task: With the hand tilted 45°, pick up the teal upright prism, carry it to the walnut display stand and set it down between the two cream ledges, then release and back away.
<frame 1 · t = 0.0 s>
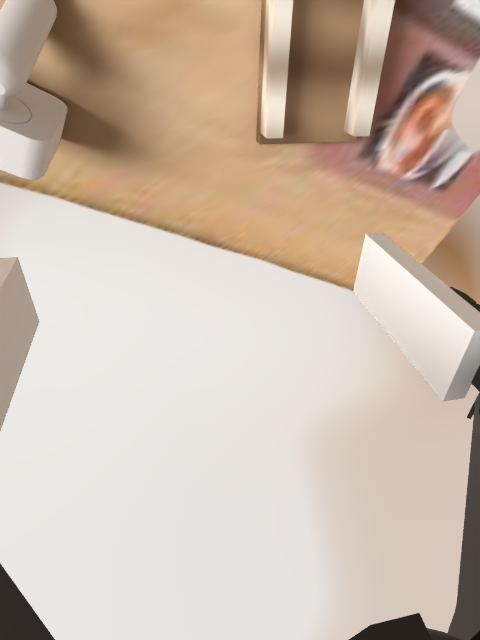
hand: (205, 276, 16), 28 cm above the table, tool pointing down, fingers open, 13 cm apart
wall hook: (24, 68, 33), on the table
display stand: (312, 57, 37), on the table
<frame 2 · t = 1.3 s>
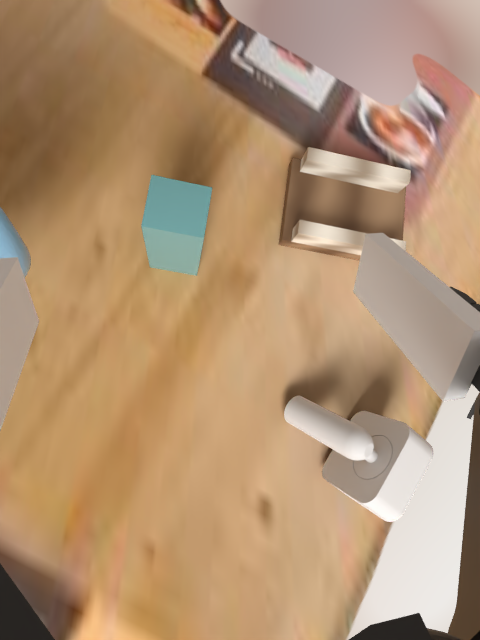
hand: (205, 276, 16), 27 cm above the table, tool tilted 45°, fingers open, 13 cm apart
wall hook: (328, 435, 43), on the table
display stand: (341, 216, 47), on the table
teal upright prism: (177, 251, 43), on the table
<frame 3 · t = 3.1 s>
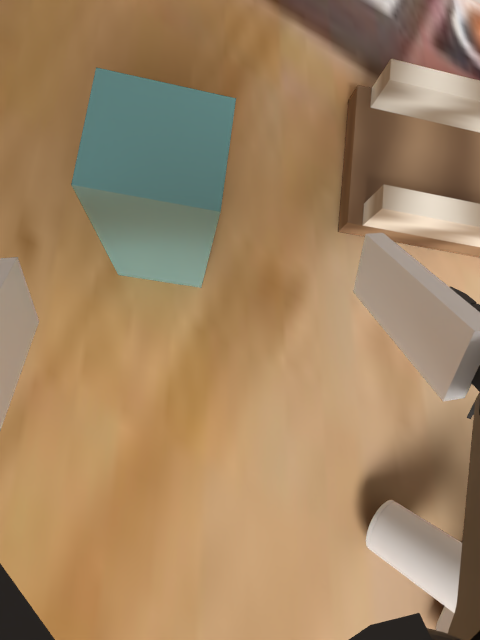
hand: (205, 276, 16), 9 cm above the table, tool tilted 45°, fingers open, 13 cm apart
wall hook: (435, 562, 24), on the table
display stand: (436, 182, 28), on the table
teal upright prism: (165, 246, 25), on the table
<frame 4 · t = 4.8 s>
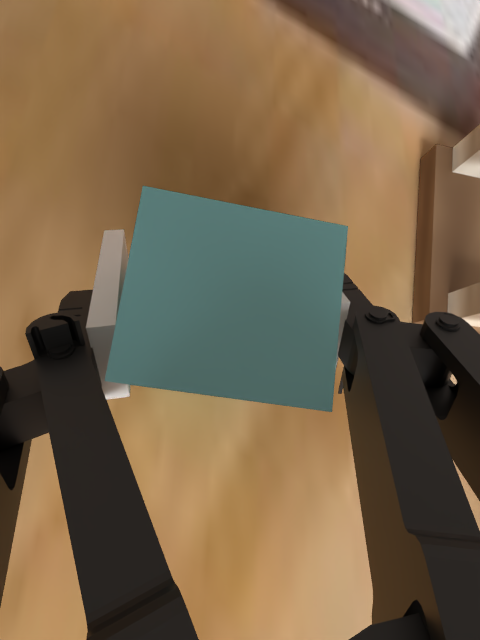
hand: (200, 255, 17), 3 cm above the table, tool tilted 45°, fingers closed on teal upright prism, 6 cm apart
teal upright prism: (204, 347, 20), on the table, touching gripper
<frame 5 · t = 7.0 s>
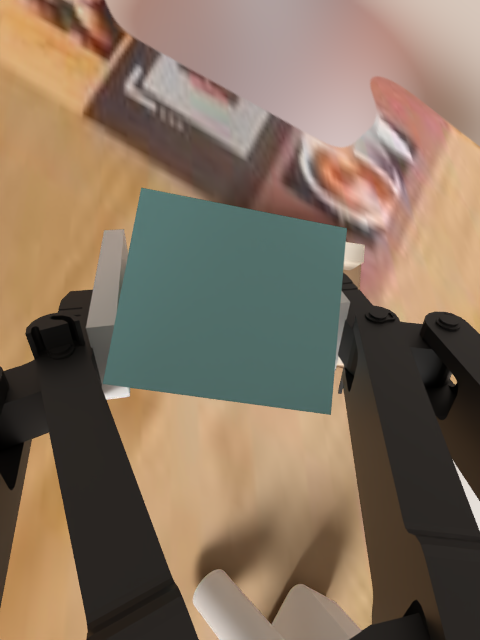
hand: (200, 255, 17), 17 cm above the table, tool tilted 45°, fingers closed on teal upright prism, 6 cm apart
wall hook: (259, 613, 31), on the table
display stand: (276, 302, 35), on the table
teal upright prism: (203, 348, 20), point 14 cm above the table, touching gripper
when the fingers open (6 cm above the table, at t = 9.6 s): teal upright prism drops 1 cm, resting on display stand.
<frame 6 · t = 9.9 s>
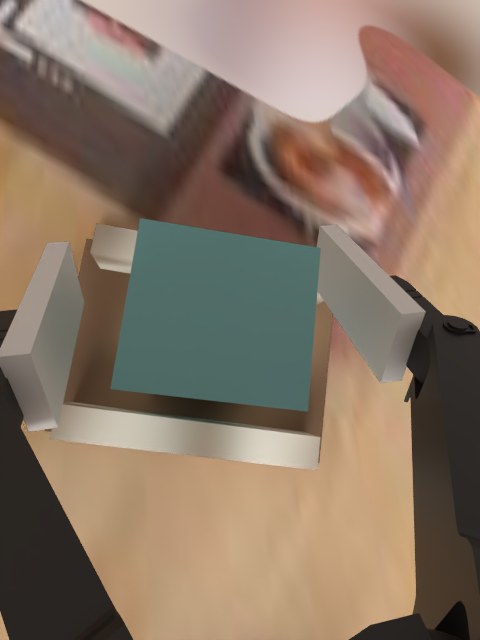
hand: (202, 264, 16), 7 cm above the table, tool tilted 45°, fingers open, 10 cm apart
display stand: (200, 353, 23), on the table
teal upright prism: (201, 352, 21), point 2 cm above the table, touching display stand
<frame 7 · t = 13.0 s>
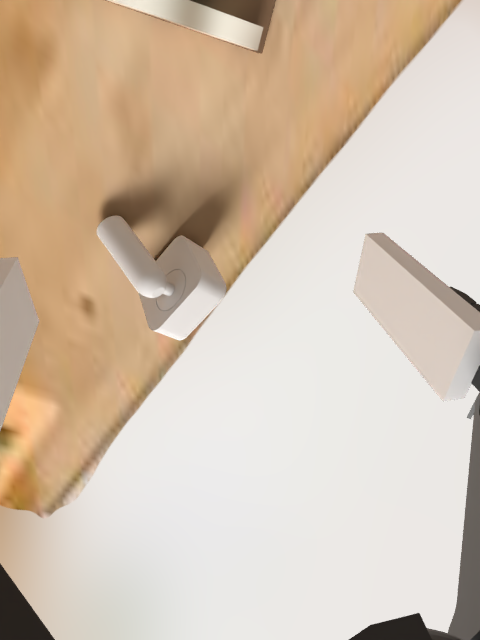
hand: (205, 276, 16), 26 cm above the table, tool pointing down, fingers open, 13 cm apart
wall hook: (151, 250, 43), on the table
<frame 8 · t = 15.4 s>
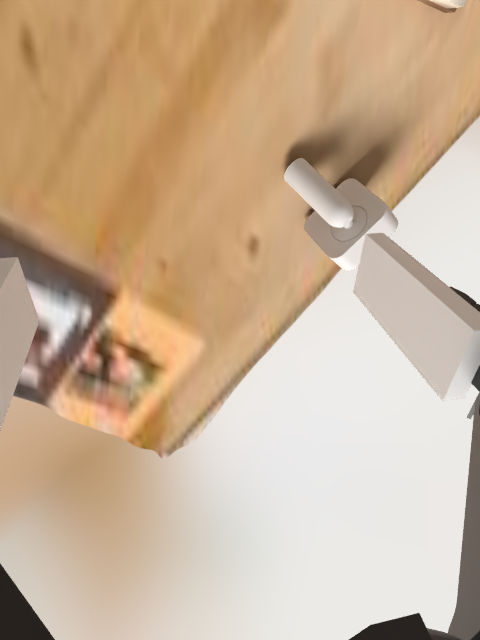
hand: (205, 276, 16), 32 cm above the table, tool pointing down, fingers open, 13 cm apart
wall hook: (317, 193, 49), on the table
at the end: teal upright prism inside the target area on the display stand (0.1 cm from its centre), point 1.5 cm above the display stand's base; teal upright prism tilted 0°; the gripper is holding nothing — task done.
